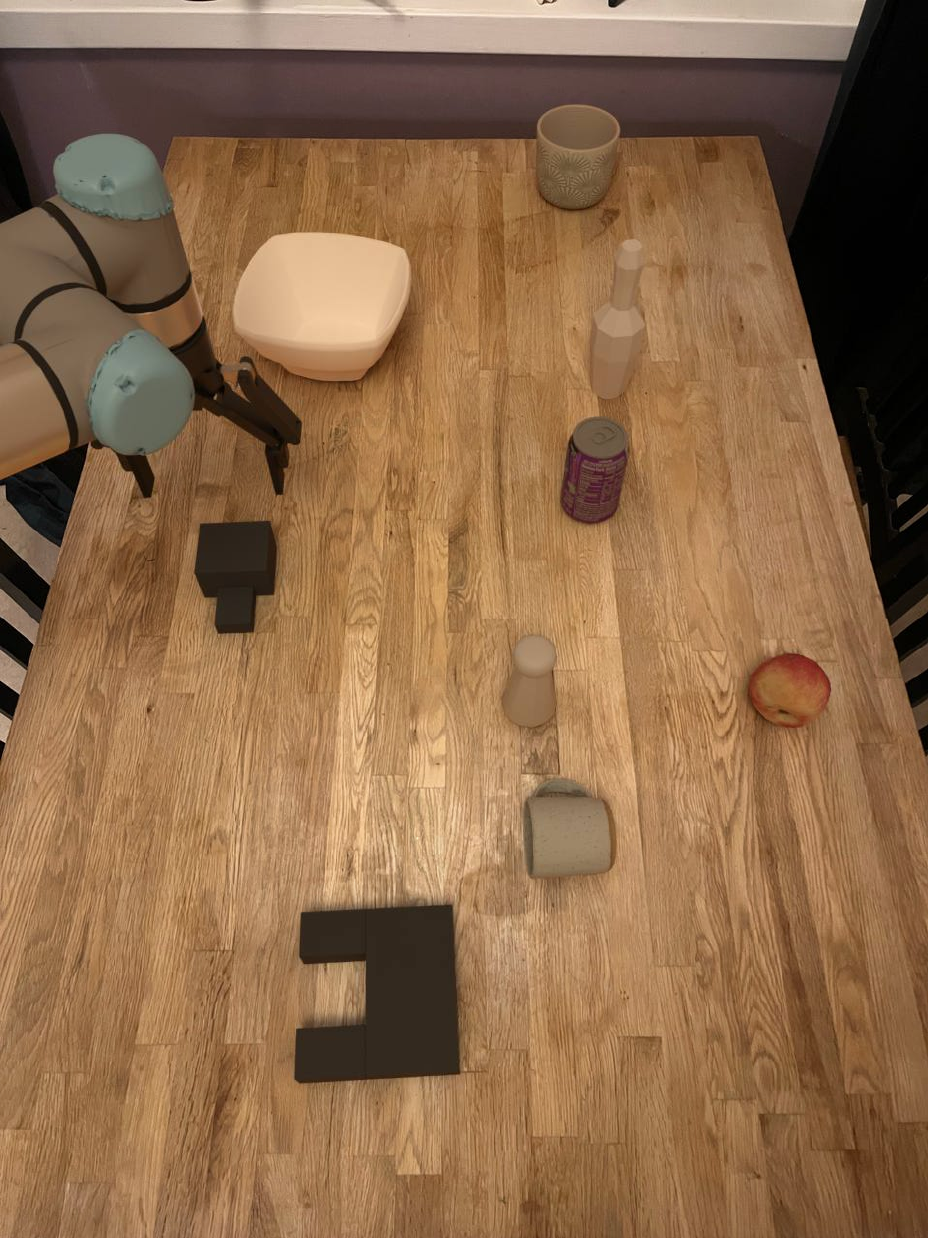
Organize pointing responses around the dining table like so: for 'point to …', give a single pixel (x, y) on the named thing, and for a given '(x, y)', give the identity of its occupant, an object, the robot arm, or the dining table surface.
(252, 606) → the tab pad
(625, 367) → the low poly bottle
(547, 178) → the planter
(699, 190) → the dining table surface
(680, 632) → the dining table surface
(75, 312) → the robot arm
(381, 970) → the dark u-shaped block
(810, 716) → the fruit
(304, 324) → the bowl
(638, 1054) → the dining table surface
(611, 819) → the ceramic mug
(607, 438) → the beverage can
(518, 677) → the salt shaker
